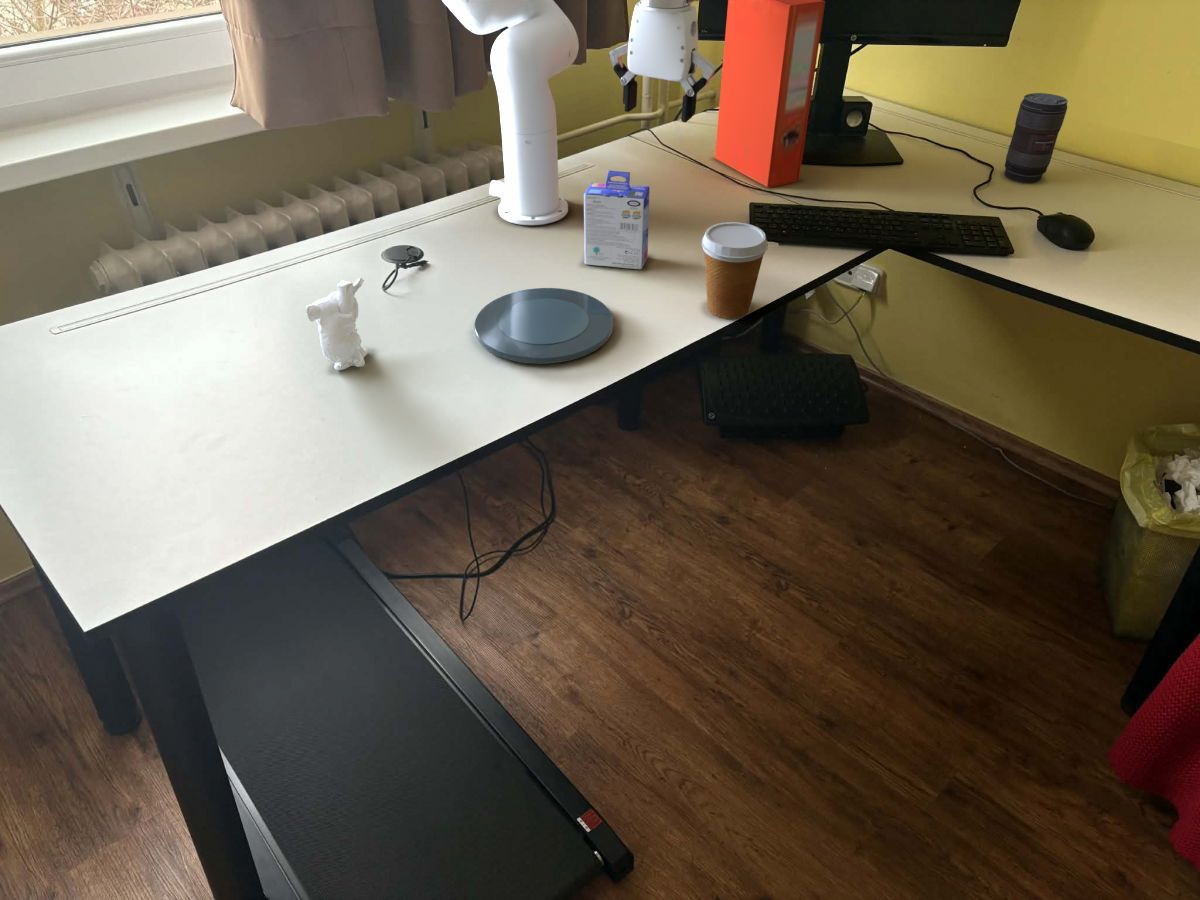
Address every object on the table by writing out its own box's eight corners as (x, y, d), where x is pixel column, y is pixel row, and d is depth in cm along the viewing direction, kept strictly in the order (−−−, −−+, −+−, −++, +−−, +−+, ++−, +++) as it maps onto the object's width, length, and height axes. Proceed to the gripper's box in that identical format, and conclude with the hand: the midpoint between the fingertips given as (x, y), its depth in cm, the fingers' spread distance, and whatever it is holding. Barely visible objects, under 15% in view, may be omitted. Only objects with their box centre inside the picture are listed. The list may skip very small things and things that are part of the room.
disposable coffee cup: (719, 330, 130) (726, 255, 123) (684, 302, 137) (689, 228, 130) (773, 315, 134) (782, 240, 126) (736, 288, 140) (744, 215, 133)
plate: (448, 346, 127) (447, 337, 126) (519, 285, 141) (519, 276, 140) (573, 381, 120) (573, 371, 119) (635, 313, 134) (635, 304, 133)
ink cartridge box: (648, 255, 149) (651, 170, 140) (643, 271, 145) (646, 184, 136) (590, 250, 151) (590, 166, 142) (583, 265, 147) (582, 179, 138)
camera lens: (1048, 174, 176) (1073, 95, 167) (1039, 188, 171) (1065, 107, 162) (1006, 166, 180) (1028, 88, 171) (996, 179, 174) (1018, 100, 165)
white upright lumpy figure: (370, 343, 128) (355, 266, 121) (387, 365, 124) (373, 287, 116) (311, 360, 125) (293, 282, 117) (327, 383, 120) (308, 304, 113)
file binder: (746, 152, 186) (763, -19, 166) (800, 180, 175) (825, 0, 155) (714, 159, 183) (728, -14, 163) (767, 188, 171) (788, 5, 152)
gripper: (730, -3, 131) (718, 116, 141) (622, -17, 136) (618, 99, 147) (712, 8, 125) (701, 131, 136) (600, -7, 131) (598, 112, 142)
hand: (658, 114), depth 142 cm, fingers open, 9 cm apart
